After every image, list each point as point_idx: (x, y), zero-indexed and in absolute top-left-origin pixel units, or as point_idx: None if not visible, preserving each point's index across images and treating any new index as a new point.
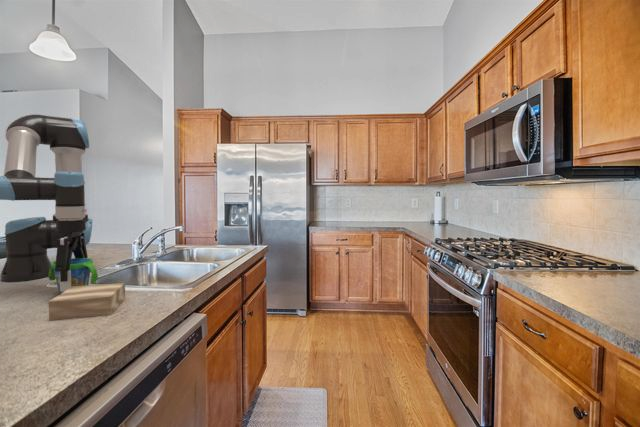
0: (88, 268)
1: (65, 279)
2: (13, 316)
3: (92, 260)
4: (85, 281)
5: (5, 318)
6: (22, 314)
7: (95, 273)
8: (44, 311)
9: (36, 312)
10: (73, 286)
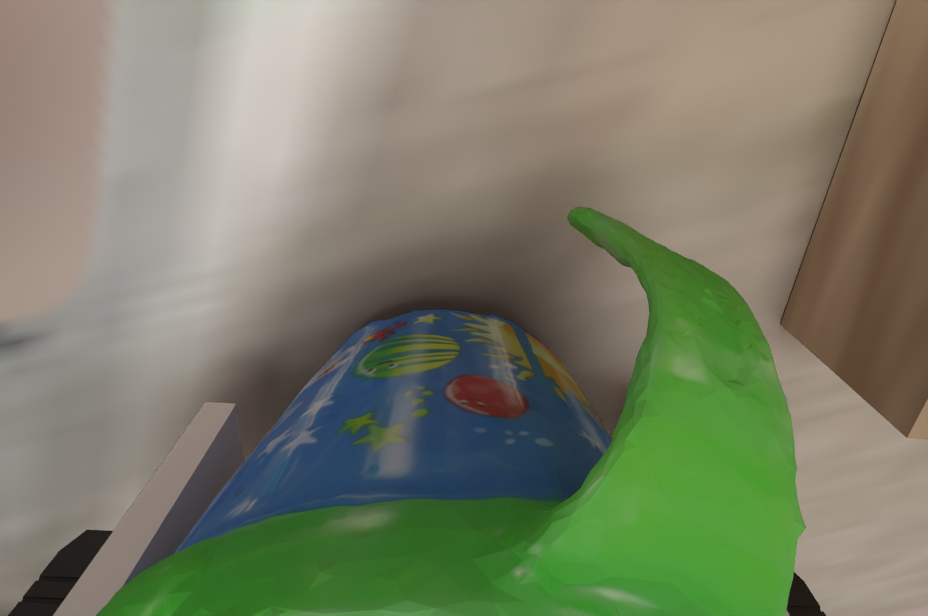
0: (565, 479)
1: (806, 593)
2: (903, 586)
3: (307, 604)
4: (528, 364)
5: (917, 608)
6: (892, 557)
7: (681, 268)
8: (922, 457)
9: (908, 497)
10: (921, 423)
